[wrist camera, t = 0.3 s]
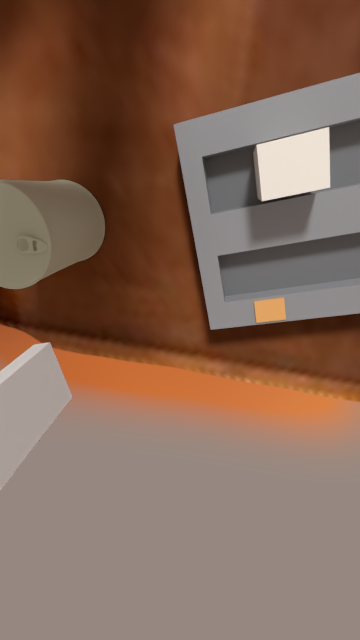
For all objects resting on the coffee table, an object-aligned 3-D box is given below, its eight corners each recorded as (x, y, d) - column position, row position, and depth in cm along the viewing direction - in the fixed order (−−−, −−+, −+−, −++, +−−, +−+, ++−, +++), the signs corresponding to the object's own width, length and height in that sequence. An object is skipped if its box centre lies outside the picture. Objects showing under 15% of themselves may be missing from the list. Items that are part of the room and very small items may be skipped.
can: (104, 267, 38) (50, 301, 27) (34, 254, 38) (-46, 280, 28) (107, 186, 34) (45, 187, 23) (29, 173, 35) (-65, 168, 24)
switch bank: (181, 131, 30) (173, 124, 27) (560, 28, 23) (623, -2, 20) (213, 315, 38) (210, 330, 34) (510, 279, 31) (548, 293, 27)
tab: (252, 152, 28) (256, 144, 23) (310, 138, 27) (329, 126, 22) (257, 198, 30) (262, 201, 24) (312, 187, 28) (330, 187, 23)
